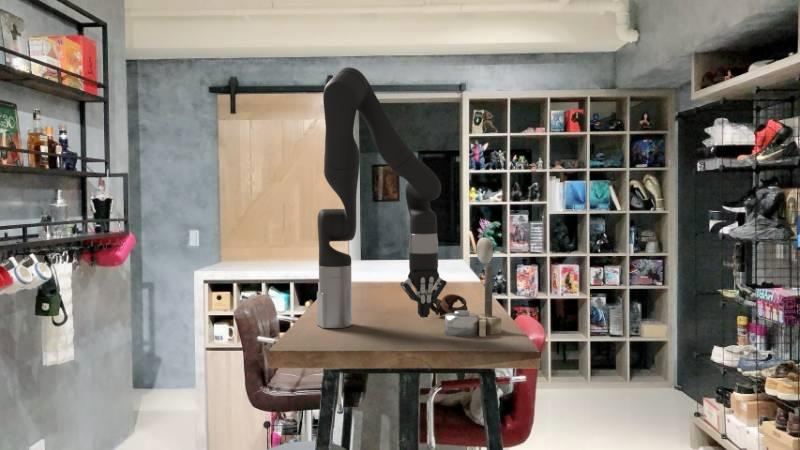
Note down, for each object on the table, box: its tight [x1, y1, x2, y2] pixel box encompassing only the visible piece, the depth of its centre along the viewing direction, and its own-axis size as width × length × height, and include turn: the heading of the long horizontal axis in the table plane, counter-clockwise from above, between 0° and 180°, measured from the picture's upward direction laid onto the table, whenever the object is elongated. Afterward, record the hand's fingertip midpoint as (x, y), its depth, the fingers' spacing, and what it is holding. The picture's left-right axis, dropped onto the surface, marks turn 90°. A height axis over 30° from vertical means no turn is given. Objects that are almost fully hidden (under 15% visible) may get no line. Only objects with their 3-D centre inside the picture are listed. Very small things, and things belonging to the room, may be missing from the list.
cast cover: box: [444, 310, 479, 338], centre depth 171 cm, size 9×9×6 cm
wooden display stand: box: [476, 237, 502, 337], centre depth 173 cm, size 7×12×26 cm, turn 23°
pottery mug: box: [430, 293, 469, 317], centre depth 194 cm, size 12×10×8 cm
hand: (423, 316), depth 167 cm, fingers closed
